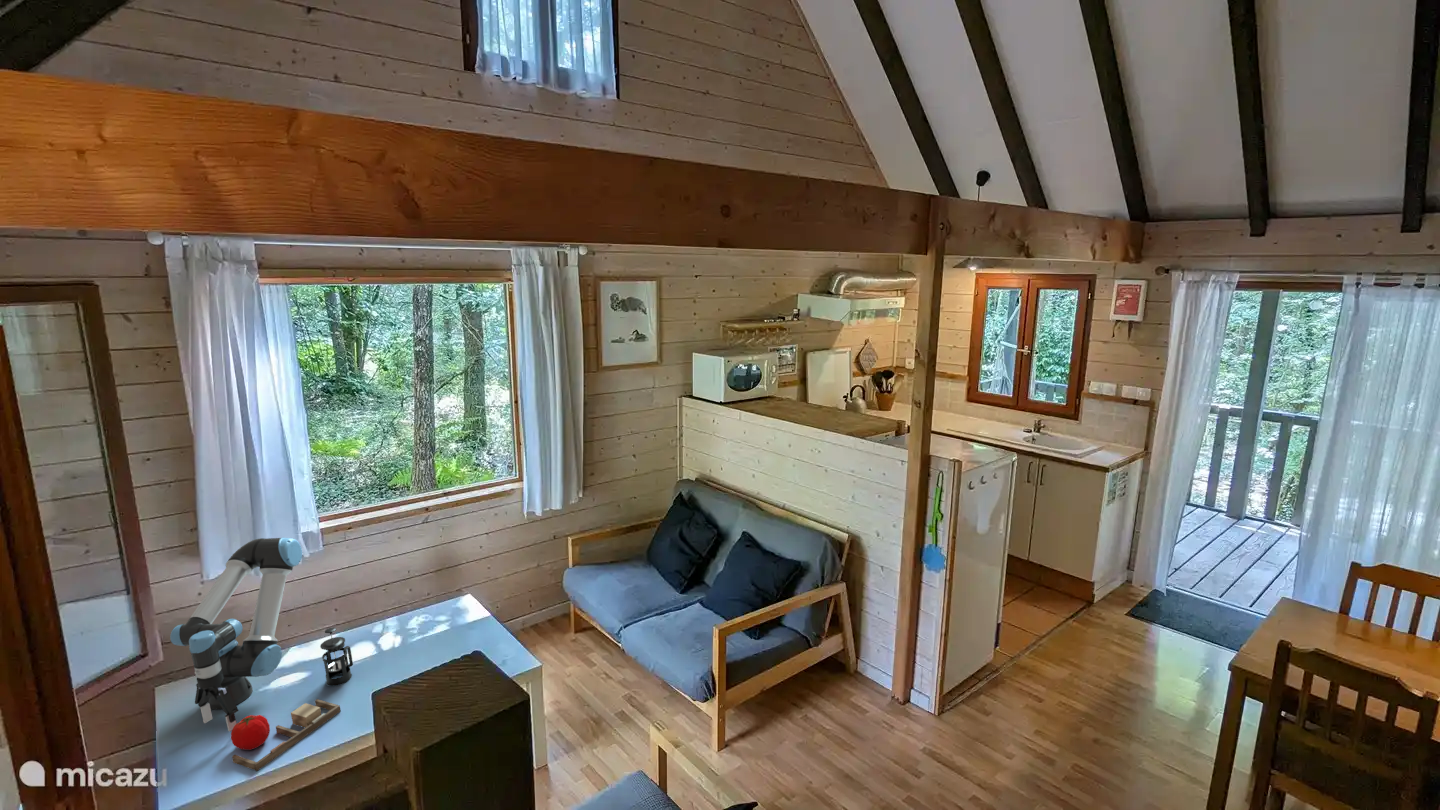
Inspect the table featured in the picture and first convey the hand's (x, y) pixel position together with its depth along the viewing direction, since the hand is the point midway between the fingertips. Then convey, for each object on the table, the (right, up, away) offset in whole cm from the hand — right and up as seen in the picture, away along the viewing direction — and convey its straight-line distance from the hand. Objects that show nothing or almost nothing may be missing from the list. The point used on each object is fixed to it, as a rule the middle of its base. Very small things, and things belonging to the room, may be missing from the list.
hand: (220, 724), depth 251 cm
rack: (+26, -4, -1) cm, 26 cm away
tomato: (+15, -5, -5) cm, 17 cm away
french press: (+26, +4, +33) cm, 42 cm away
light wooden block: (+28, -2, +7) cm, 29 cm away
